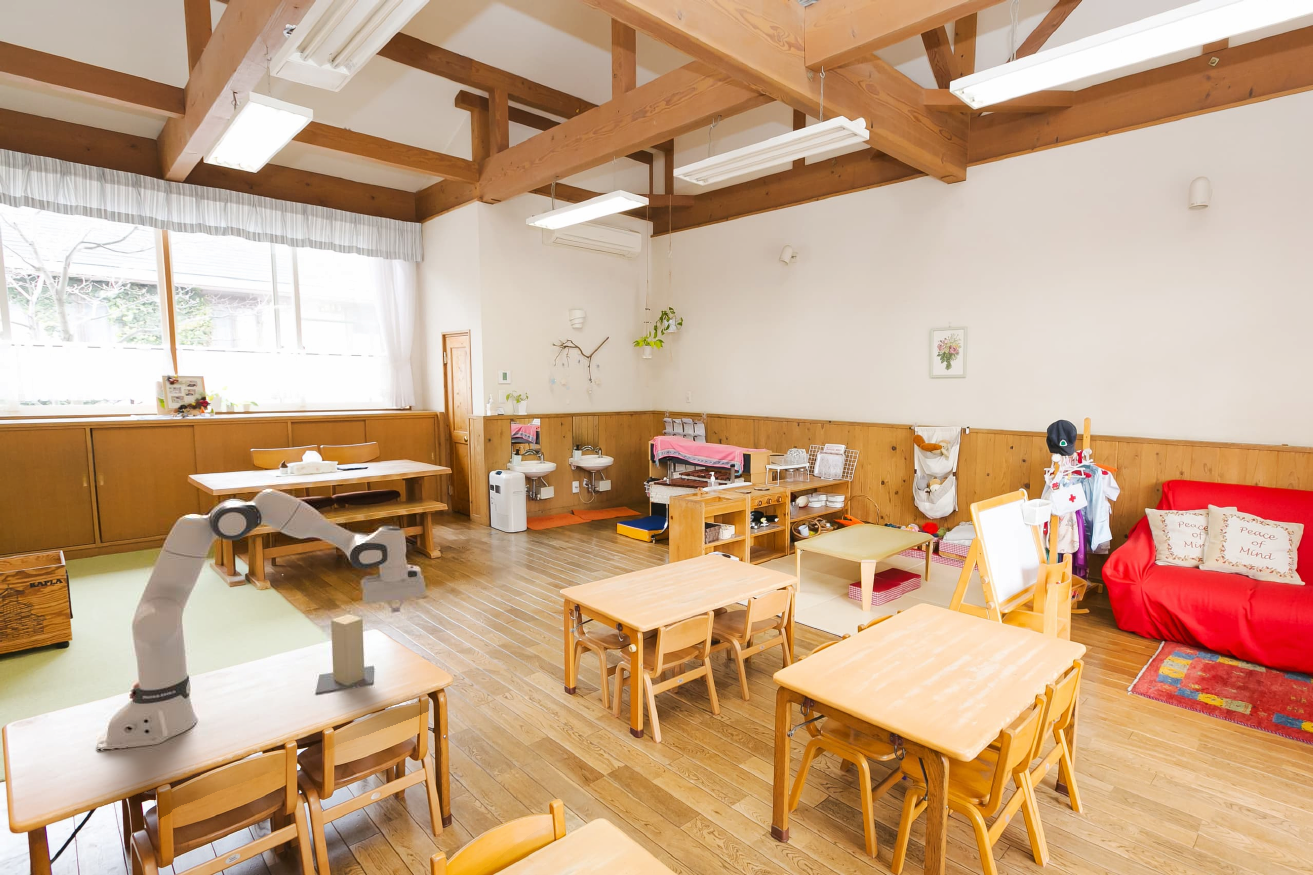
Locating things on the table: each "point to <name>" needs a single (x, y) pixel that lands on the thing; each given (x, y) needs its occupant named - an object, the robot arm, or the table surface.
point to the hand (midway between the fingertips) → (395, 611)
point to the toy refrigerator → (347, 649)
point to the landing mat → (329, 685)
